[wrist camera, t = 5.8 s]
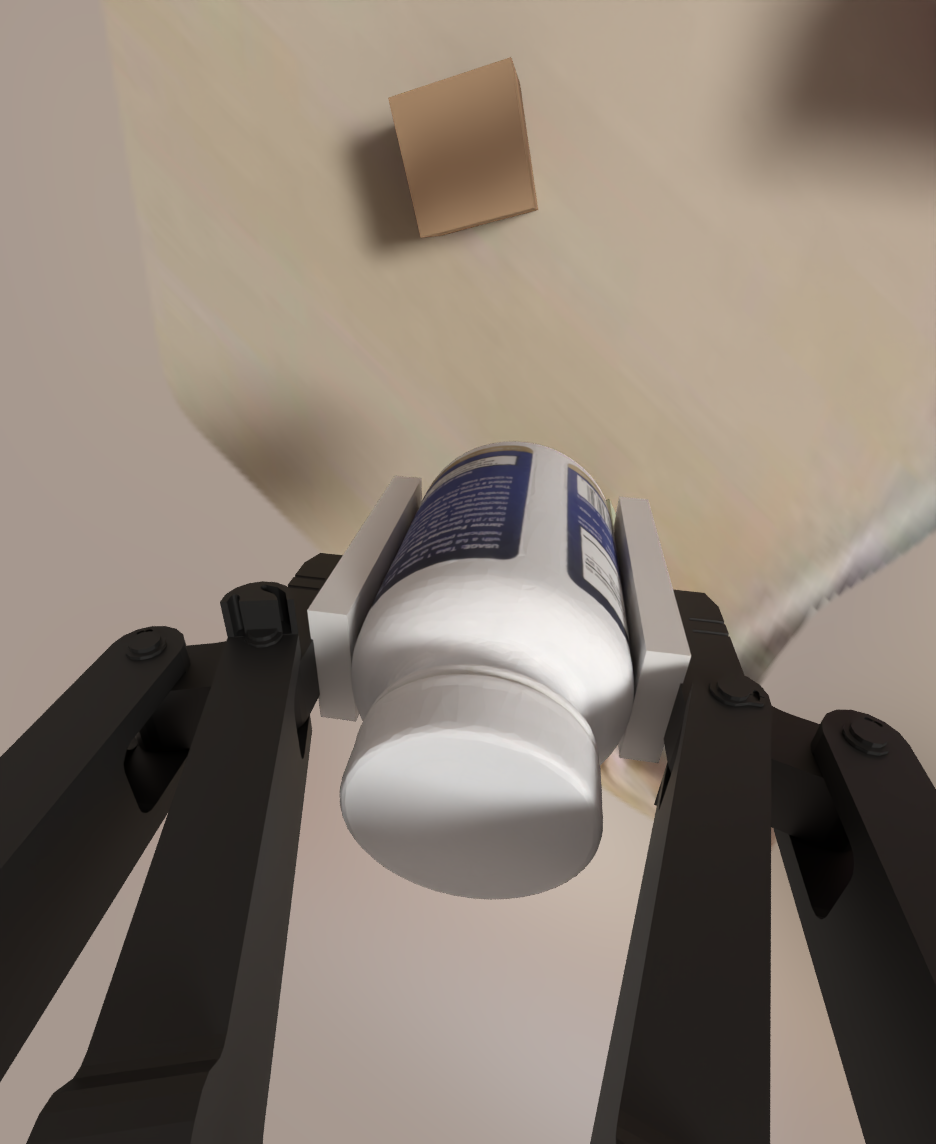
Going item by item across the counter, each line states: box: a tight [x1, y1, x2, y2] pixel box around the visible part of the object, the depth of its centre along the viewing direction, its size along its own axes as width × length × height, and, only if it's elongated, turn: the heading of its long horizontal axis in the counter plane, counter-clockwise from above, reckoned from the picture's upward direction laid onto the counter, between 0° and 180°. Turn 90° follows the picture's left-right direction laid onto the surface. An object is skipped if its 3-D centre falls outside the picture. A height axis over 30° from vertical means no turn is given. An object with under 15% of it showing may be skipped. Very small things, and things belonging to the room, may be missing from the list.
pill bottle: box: [340, 441, 634, 899], centre depth 13 cm, size 5×5×10 cm
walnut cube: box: [388, 57, 538, 238], centre depth 26 cm, size 5×5×5 cm
